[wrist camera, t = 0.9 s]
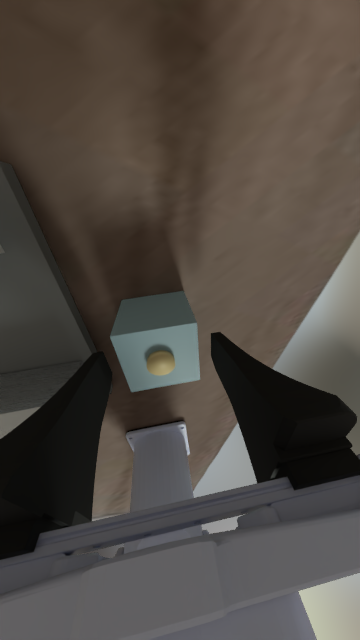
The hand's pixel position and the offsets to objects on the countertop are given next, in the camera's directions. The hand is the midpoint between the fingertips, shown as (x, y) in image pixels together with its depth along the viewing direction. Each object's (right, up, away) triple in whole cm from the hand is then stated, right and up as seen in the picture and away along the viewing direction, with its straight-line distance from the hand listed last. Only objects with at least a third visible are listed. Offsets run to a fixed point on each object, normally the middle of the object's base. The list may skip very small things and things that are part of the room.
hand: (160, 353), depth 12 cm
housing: (-1, +2, +4) cm, 4 cm away
